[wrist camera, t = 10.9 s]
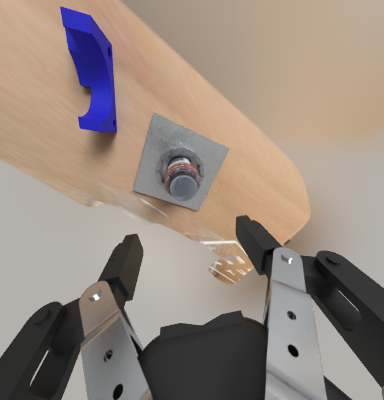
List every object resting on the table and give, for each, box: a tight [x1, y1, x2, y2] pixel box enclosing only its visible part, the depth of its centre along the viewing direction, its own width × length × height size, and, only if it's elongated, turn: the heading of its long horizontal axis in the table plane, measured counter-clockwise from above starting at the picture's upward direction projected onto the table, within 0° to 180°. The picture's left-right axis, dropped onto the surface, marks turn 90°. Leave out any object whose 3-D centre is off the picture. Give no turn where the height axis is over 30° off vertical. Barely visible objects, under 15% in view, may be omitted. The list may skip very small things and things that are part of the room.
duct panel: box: [133, 113, 229, 211], centre depth 28 cm, size 16×16×4 cm
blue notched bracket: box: [60, 6, 117, 132], centre depth 20 cm, size 12×4×6 cm, turn 171°
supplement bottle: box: [164, 157, 201, 201], centre depth 24 cm, size 6×6×11 cm
